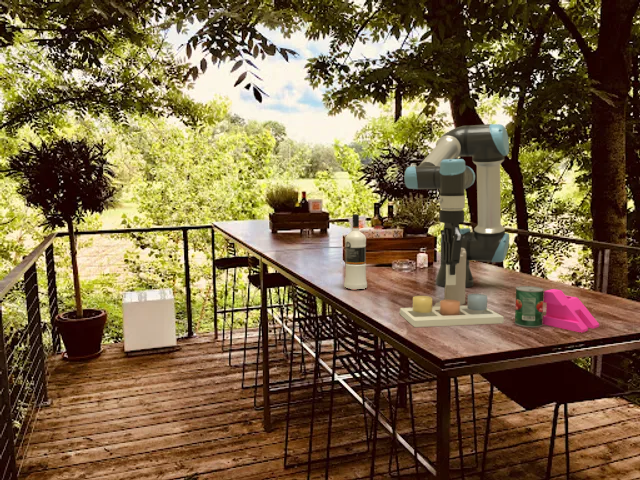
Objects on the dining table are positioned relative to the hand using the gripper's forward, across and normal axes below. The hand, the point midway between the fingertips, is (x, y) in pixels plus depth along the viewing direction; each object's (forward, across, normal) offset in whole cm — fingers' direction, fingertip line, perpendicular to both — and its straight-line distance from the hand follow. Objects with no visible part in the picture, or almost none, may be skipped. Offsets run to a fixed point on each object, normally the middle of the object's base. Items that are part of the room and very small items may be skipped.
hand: (450, 284), depth 171 cm
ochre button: (+8, 0, -9) cm, 12 cm away
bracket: (+11, +14, +32) cm, 37 cm away
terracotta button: (+9, 0, 0) cm, 9 cm away
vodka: (+12, -51, -20) cm, 56 cm away
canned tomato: (+11, +10, +21) cm, 26 cm away
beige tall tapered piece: (+11, -19, +7) cm, 23 cm away
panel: (+11, 0, 0) cm, 11 cm away
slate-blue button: (+8, 0, +9) cm, 12 cm away
